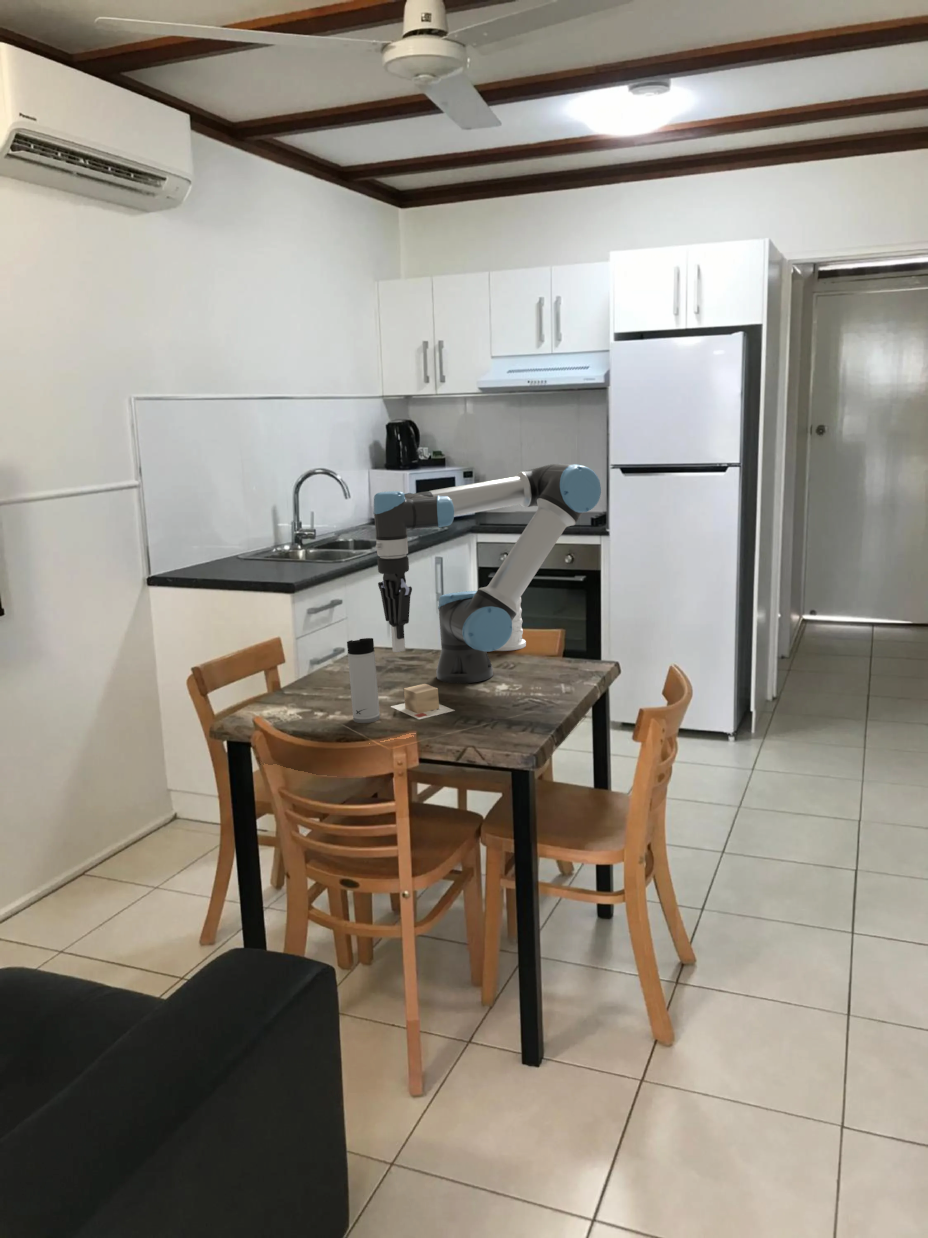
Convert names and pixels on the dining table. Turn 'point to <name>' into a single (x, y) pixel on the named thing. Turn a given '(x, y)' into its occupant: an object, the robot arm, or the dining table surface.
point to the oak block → (421, 698)
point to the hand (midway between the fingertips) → (399, 650)
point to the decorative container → (515, 632)
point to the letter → (441, 710)
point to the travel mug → (363, 680)
